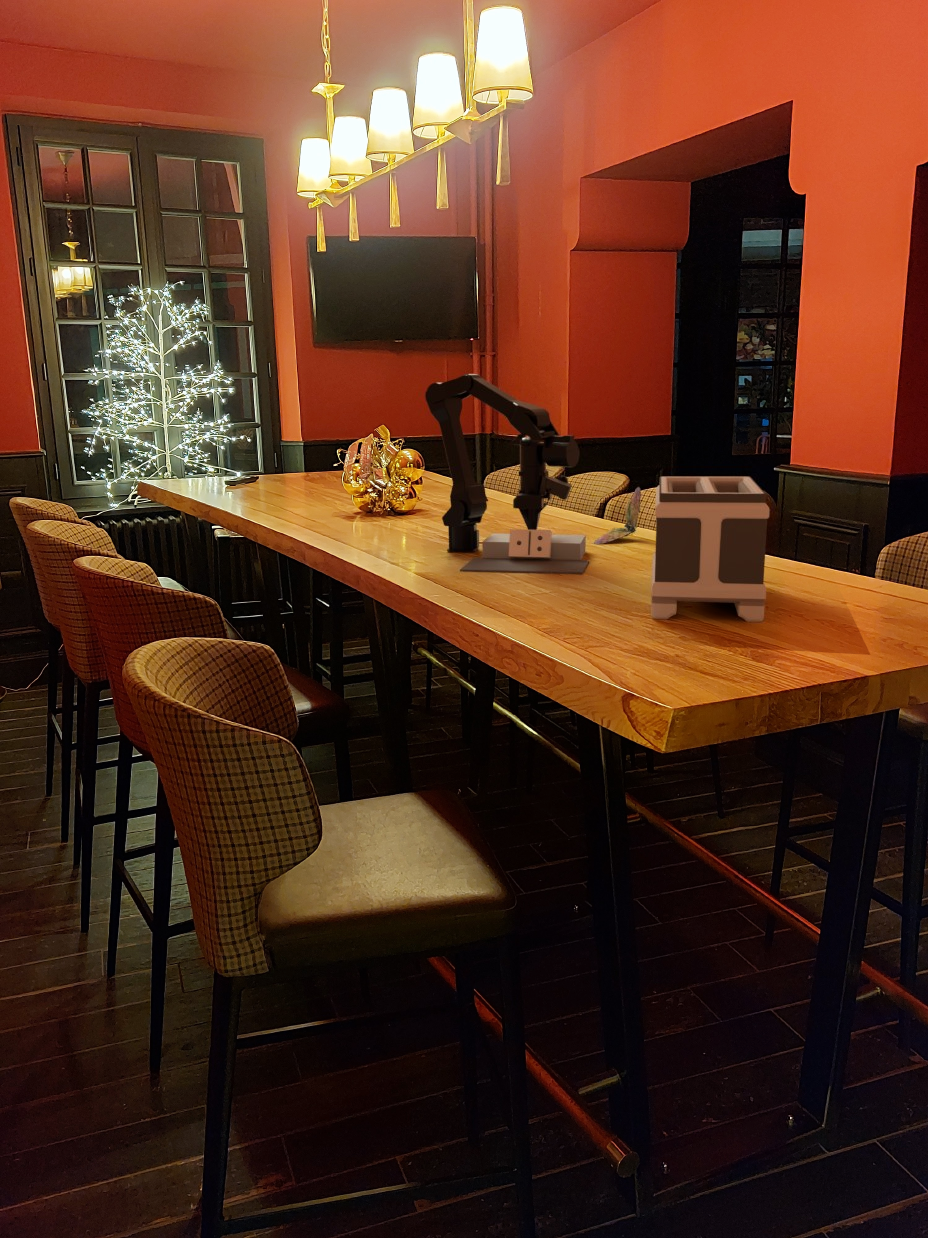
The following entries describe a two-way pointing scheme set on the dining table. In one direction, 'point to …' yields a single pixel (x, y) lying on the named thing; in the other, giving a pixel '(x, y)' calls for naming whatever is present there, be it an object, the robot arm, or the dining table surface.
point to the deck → (560, 549)
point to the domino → (530, 543)
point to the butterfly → (632, 513)
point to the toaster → (709, 544)
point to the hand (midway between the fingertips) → (533, 535)
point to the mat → (526, 565)
